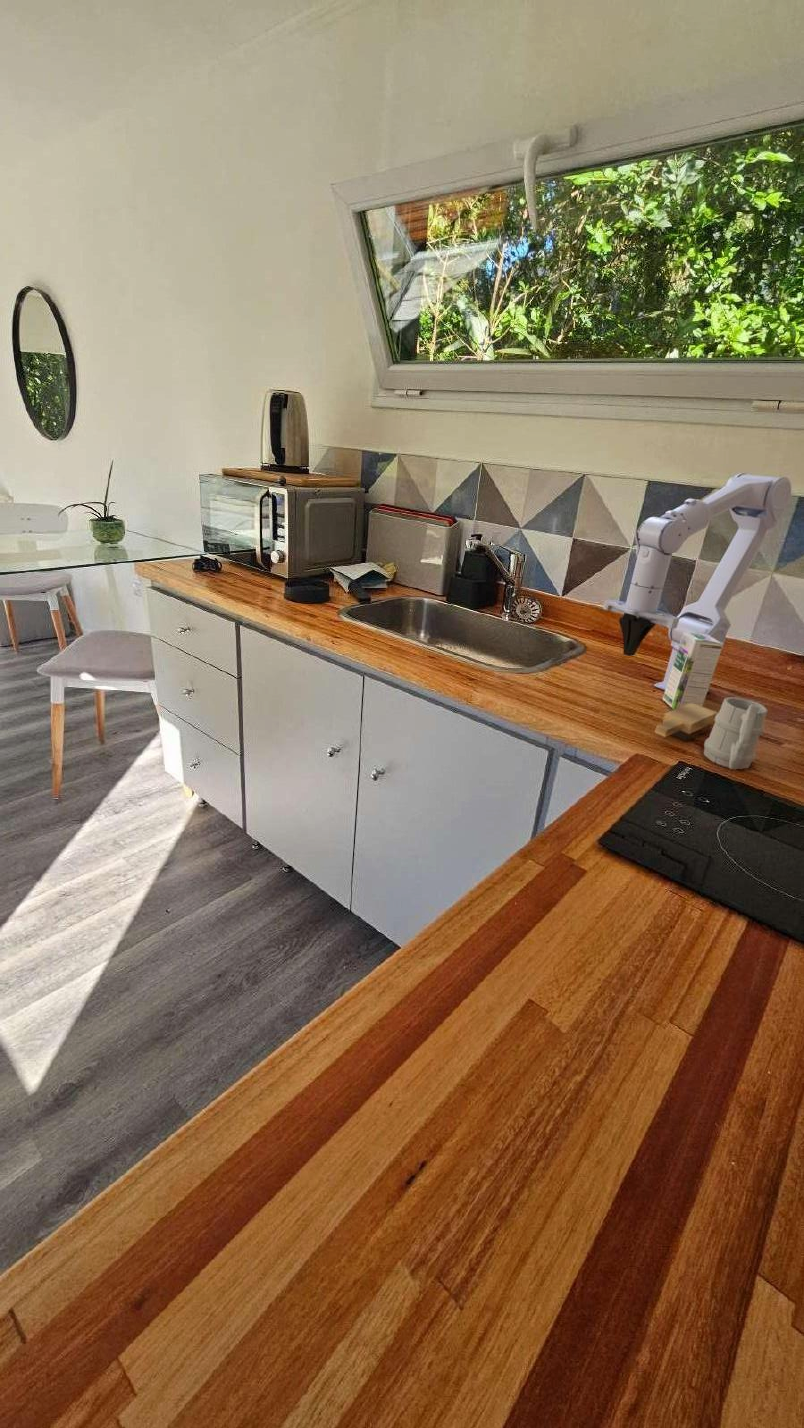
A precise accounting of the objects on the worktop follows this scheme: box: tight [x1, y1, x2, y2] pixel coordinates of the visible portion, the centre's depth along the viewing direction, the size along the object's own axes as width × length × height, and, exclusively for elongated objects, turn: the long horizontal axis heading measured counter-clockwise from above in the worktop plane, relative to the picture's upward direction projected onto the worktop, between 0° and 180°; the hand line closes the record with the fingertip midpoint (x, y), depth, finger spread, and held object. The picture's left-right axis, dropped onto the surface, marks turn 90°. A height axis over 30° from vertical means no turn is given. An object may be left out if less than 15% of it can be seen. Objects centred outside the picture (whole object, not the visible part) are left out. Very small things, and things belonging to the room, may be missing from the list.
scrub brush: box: [654, 703, 719, 742], centre depth 106 cm, size 16×5×4 cm, turn 129°
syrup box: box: [662, 633, 724, 710], centre depth 117 cm, size 6×6×14 cm
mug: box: [703, 696, 768, 770], centre depth 95 cm, size 8×12×12 cm, turn 158°
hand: (628, 654), depth 116 cm, fingers closed
